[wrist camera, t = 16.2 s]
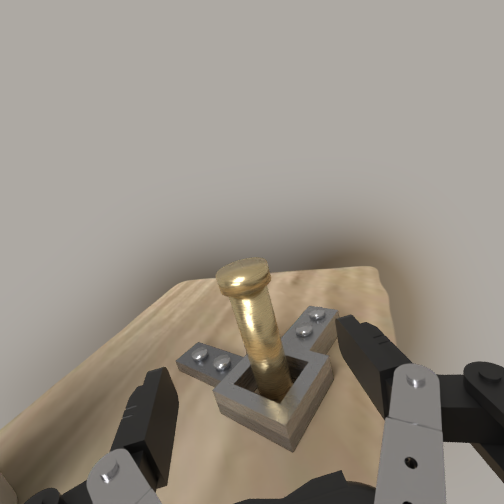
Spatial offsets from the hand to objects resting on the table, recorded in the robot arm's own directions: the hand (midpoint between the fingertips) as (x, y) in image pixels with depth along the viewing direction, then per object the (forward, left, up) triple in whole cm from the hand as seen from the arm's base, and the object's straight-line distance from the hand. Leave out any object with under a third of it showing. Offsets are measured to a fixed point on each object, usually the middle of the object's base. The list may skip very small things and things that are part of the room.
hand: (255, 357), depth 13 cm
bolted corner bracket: (-13, +13, -15) cm, 23 cm away
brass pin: (-8, +9, -15) cm, 19 cm away
